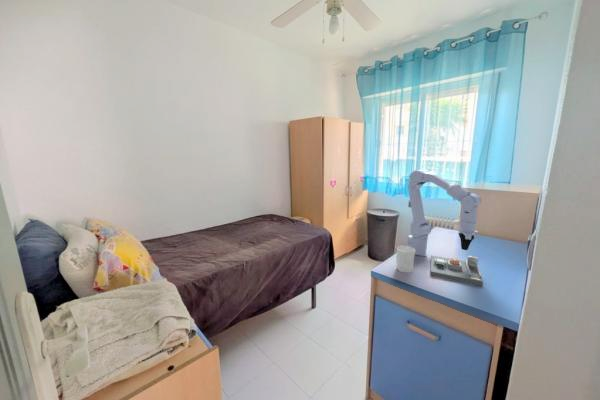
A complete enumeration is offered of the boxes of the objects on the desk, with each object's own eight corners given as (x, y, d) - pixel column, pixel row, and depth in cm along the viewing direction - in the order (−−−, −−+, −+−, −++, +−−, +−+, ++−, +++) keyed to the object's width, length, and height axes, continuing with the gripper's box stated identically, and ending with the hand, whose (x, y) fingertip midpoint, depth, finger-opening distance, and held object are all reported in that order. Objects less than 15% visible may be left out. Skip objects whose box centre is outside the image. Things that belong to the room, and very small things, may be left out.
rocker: (436, 263, 110) (437, 261, 110) (436, 260, 116) (436, 258, 115) (444, 264, 109) (444, 262, 109) (443, 261, 114) (443, 259, 114)
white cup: (405, 275, 107) (407, 254, 105) (391, 267, 114) (392, 247, 112) (417, 270, 111) (419, 250, 109) (403, 263, 118) (404, 244, 116)
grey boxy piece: (467, 266, 109) (468, 257, 109) (466, 264, 112) (467, 255, 111) (477, 268, 108) (478, 258, 107) (476, 266, 110) (477, 256, 109)
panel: (430, 275, 107) (431, 267, 106) (430, 259, 122) (431, 251, 122) (482, 286, 98) (483, 277, 97) (475, 267, 114) (476, 259, 113)
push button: (450, 266, 109) (451, 260, 109) (450, 263, 112) (450, 257, 111) (458, 268, 108) (459, 261, 107) (457, 265, 110) (458, 259, 110)
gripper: (481, 226, 100) (477, 257, 103) (476, 217, 112) (472, 245, 115) (461, 224, 103) (457, 254, 106) (458, 215, 116) (455, 242, 118)
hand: (464, 249), depth 111 cm, fingers closed
